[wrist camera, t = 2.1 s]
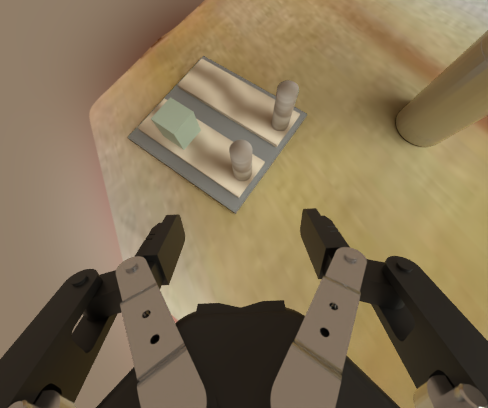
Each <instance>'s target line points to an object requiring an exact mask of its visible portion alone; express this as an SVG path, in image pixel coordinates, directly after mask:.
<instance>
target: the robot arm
mask: <svg viewBox="0 0 488 408" xmlns="http://www.w3.org/2000/svg"><path fill="white" fill-rule="evenodd" d="M486 116H488V30H487V31H486V32H485V33H484V34H483V35H482V36H481V37H480V38H479V39H478V40H477V41H476V42H475V43H473V44H472V45H471V46H470V47H469V48H468V49H467V50H466V51H465V52H464V53H463V54H462V55H460V56H459V57H458V58H457V59H456V60H455V61H454V62H453V63H452V64H451V65H450V66H448V67H447V68H446V69H445V70H444V71H443V72H442V73H441V74H440V75H439V76H438V77H437V78H435V79H434V80H433V81H432V82H431V83H430V84H429V85H428V86H427V87H426V88H425V89H424V90H422V91H421V92H420V93H419V94H418V95H417V96H416V97H415V98H414V99H413V100H412V101H410V102H409V103H408V104H407V105H406V106H405V107H404V108H403V109H402V110H401V111H400V112H399V113H398V115H397V118H396V126H397V129H398V131H399V133H400V134H401V136H402V137H403V138H404V139H405V140H407V141H408V142H410V143H412V144H414V145H417V146H423V147H428V146H433V145H436V144H438V143H440V142H441V141H443V140H445V139H447V138H449V137H450V136H452V135H454V134H456V133H457V132H459V131H461V130H463V129H465V128H467V127H468V126H470V125H472V124H474V123H475V122H477V121H479V120H481V119H483V118H484V117H486ZM300 233H301V238H302V240H303V242H304V245H305V247H306V250H307V252H308V255H309V257H310V260H311V262H312V264H313V267H314V269H315V272H316V274H317V277H318V279H322V280H321V282H320V285H319V287H318V289H317V291H316V293H315V296H314V298H313V300H312V302H311V305H310V307H309V309H308V311H307V313H306V316H304V315H302V314H301V313H299V312H297V311H295V310H292V309H289V308H286V307H285V304H284V300H280V301H262V302H259V303H255V304H252V305H249V306H245V307H242V308H239V307H234V306H230V305H225V304H221V303H209V304H198V306H197V311H196V312H193V313H191V314H188V315H187V316H185V317H183V318H182V319H180V320H179V321H178V322H176V323H175V322H174V320H173V318H172V316H171V313H170V311H169V309H168V307H167V305H166V303H165V300H164V298H163V296H162V294H161V292H160V288H161V285H169V283H170V281H171V278H172V275H173V272H174V269H175V267H176V264H177V261H178V258H179V256H180V253H181V250H182V247H183V245H184V242H185V233H184V229H183V225H182V221H181V217H180V215H166V217H165V218H164V220H163V222H162V223H158V224H157V225H156V226H154V227H153V228H152V230H151V231H150V233H149V235H148V236H147V237H146V240H145V241H144V242H143V244H142V245H141V247H140V249H139V250H138V252H137V253H136V255H135V257H132V258H129V259H127V260H125V261H124V262H122V263H121V264H120V265H119V266H118V268H117V269H116V270H115V271H112V272H108V273H105V274H101V275H99V274H98V272H97V271H96V270H94V269H86V270H83V271H80V272H78V273H76V274H74V275H73V276H71V277H70V278H69V279H68V280H66V282H65V283H64V284H63V285H62V286H61V287H60V289H59V290H58V291H57V292H56V293H55V295H54V296H53V297H52V298H51V299H50V301H49V302H48V303H47V304H46V305H45V307H44V308H43V309H42V310H41V311H40V313H39V314H38V315H37V316H36V317H35V319H34V320H33V321H32V322H31V323H30V325H29V326H28V327H27V328H26V329H25V331H24V332H23V333H22V334H21V335H20V337H19V338H18V339H17V340H16V341H15V342H14V344H13V345H12V346H11V347H10V348H9V350H8V351H7V352H6V353H5V354H4V356H3V357H2V358H1V359H0V408H76V406H75V404H74V402H75V400H76V398H77V396H78V394H79V392H80V390H81V388H82V386H83V383H84V381H85V379H86V377H87V375H88V373H89V371H90V369H91V367H92V365H93V363H94V361H95V359H96V357H97V355H98V353H99V350H100V348H101V346H102V344H103V342H104V340H105V338H106V336H107V334H108V332H109V330H110V328H111V326H112V324H113V322H114V320H115V318H116V316H117V314H118V313H121V312H122V316H123V320H124V324H125V329H126V333H127V337H128V341H129V346H130V350H131V354H132V359H133V363H134V368H133V369H132V370H131V371H130V372H129V373H128V374H127V375H126V376H125V377H124V378H123V379H122V380H121V381H120V382H119V384H118V385H117V386H116V387H115V388H114V389H113V390H112V391H111V392H110V393H109V394H108V395H107V396H106V397H105V398H104V400H103V401H102V402H101V403H100V404H99V405H98V406H97V407H96V408H400V407H399V406H398V405H397V404H396V403H395V402H394V401H393V400H392V399H391V398H390V397H389V396H388V395H387V394H386V393H385V392H384V391H383V390H382V389H381V388H379V387H378V386H377V385H376V384H375V383H374V382H373V381H372V380H371V379H370V378H369V377H368V376H367V375H366V374H365V373H364V372H363V371H362V370H361V369H360V368H359V367H358V366H357V365H356V364H355V363H354V362H353V361H352V360H351V359H350V358H349V357H348V356H346V354H347V350H348V346H349V342H350V337H351V333H352V329H353V325H354V321H355V316H356V312H357V308H358V304H359V301H362V302H366V303H370V304H371V305H372V306H373V308H374V310H375V312H376V314H377V316H378V317H379V319H380V321H381V323H382V325H383V327H384V329H385V330H386V332H387V334H388V336H389V338H390V340H391V342H392V343H393V345H394V347H395V349H396V351H397V353H398V354H399V356H400V358H401V360H402V362H403V364H404V366H405V367H406V369H407V371H408V373H409V375H410V377H411V379H412V380H413V382H414V384H415V386H416V388H417V389H416V391H415V392H414V397H413V400H414V405H415V408H488V341H487V340H486V339H485V338H484V337H483V336H482V335H481V333H480V332H479V331H478V330H477V329H476V328H475V327H474V326H473V325H472V324H471V323H470V321H469V320H468V319H467V318H466V317H465V316H464V315H463V314H462V313H461V312H460V311H459V310H458V308H457V307H456V306H455V305H454V304H453V303H452V302H451V301H450V300H449V299H448V298H447V296H446V295H445V294H444V293H443V292H442V291H441V290H440V289H439V288H438V287H437V286H436V285H435V283H434V282H433V281H432V280H431V279H430V278H429V277H428V276H427V275H426V274H425V273H424V271H423V270H422V269H421V268H420V267H419V266H418V265H417V264H415V263H414V262H412V261H410V260H408V259H406V258H403V257H399V256H391V257H388V258H387V259H386V261H385V263H384V262H378V261H373V260H368V259H366V258H365V256H364V255H363V254H362V253H361V252H359V251H358V250H356V249H353V248H350V247H349V245H348V244H347V242H346V241H345V240H344V238H343V237H342V235H341V234H340V232H338V229H337V228H336V227H335V225H334V224H333V222H332V221H331V220H330V219H329V218H327V217H326V216H321V215H320V214H319V212H318V211H317V209H316V208H314V209H303V212H302V220H301V227H300ZM82 314H83V315H84V316H83V317H82V319H81V320H80V322H79V324H78V325H77V327H76V328H75V330H74V332H73V333H72V330H73V328H74V326H75V324H76V323H77V322H78V320H79V319H80V317H81V315H82Z"/></svg>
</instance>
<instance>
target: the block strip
mask: <svg viewBox="0 0 488 408" xmlns="http://www.w3.org/2000/svg"><path fill="white" fill-rule="evenodd" d="M166 101H167V100H166V99H165V98H164V99H163V100H162V102H161V103H160V104H159V105H158V106H157V107H156V108H155V109H154V110H153V111H152V112H151V113H150V114H149V116H148V117H147V118H146V119H145V120H144V121H143V122H142V123H141V124H140V125H139V126H138V127H137V128H138V129H139V130H140V131H141V132H143V133H144V134H146V135H147V136H149V137H150V138H152V139H153V140H155V141H156V142H158V143H159V144H161V145H162V146H163V147H165V148H166V149H168V150H169V151H171V152H172V153H174V154H175V155H177V156H178V157H180V158H181V159H182V160H184V161H185V162H187V163H188V164H190V165H191V166H193V167H194V168H196V169H197V170H199V171H200V172H201V173H203V174H204V175H206V176H207V177H209V178H210V179H212V180H213V181H215V182H216V183H218V184H219V185H220V186H222V187H223V188H225V189H226V190H228V191H229V192H231V193H232V194H234V195H235V196H237V197H238V198H239V197H240V196H241V195H242V193H243V192H244V191H245V189H246V188H247V187H248V185H249V184H250V183H251V181H252V180H253V178H254V177H255V176H256V174H257V173H258V172H259V170H260V169H261V168H262V166H263V165H264V164H265V161H263V160H261V159H260V158H258V157H257V156H255V155H253V154H252V150H253V149H252V146H251V144H250V143H249V142H248V141H246V140H236V141H234V142H233V141H231V140H230V139H228V138H226V137H225V136H223V135H222V134H220V133H219V132H217V131H215V130H214V129H212V128H211V127H209V126H207V125H206V124H204V123H203V122H201V121H200V120H198V119H197V122H198V124H199V127H200V129H201V131H200V132H199V133H198V134H197V135H196V137H195V138H194V139H193V140H192V141H191V143H190V144H189V145H188V146H187V147H186V148H185V150H183V149H182V148H180V147H179V146H177V145H176V144H174V143H173V142H172V141H170V140H169V139H167V138H166V137H164V136H163V135H162V133H161V132H160V131H159V129H158V128H157V127H156V125H155V124H154V123H153V121H152V120H151V118H152V117H153V116H154V114H155V113H156V112H157V111H158V110H159V109H160V108H161V107H162V106H163V105H164V104H165V103H166Z"/></svg>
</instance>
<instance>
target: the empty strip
mask: <svg viewBox="0 0 488 408" xmlns="http://www.w3.org/2000/svg"><path fill="white" fill-rule="evenodd" d="M177 85H178V87H179V88H180V89H182V90H183V91H185V92H186V93H188V94H190V95H191V96H193V97H195V98H196V99H198V100H200V101H201V102H203V103H204V104H206V105H208V106H209V107H211V108H213V109H214V110H216V111H218V112H219V113H221V114H223V115H224V116H226V117H227V118H229V119H231V120H232V121H234V122H236V123H237V124H239V125H241V126H242V127H244V128H246V129H247V130H249V131H250V132H252V133H254V134H255V135H257V136H259V137H260V138H262V139H264V140H265V141H267V142H268V143H270V144H272V145H273V146H275V147H277V146H278V145H279V143H280V142H281V141H282V139H283V138H284V137H285V135H286V134H287V132H288V131H289V130H290V128H291V127H292V126H293V124H294V123H295V122H296V120H297V119H298V118H299V116H300V113H298V112H296V111H294V110H293V109H294V106H295V102H296V99H297V96H298V93H299V87H298V85H297V84H296V83H295V82H293V81H289V80H286V81H283V82H281V83H280V84H279V85H278V87H277V93H276V99H273V98H271V97H269V96H268V95H266V94H264V93H262V92H261V91H259V90H257V89H255V88H253V87H252V86H250V85H248V84H246V83H245V82H243V81H241V80H239V79H238V78H236V77H234V76H232V75H230V74H229V73H227V72H225V71H223V70H222V69H220V68H218V67H216V66H214V65H213V64H211V63H209V62H207V61H206V60H204V59H201V60H200V61H199V62H198V63H197V64H196V65H195V66H194V67H193V68H192V69H191V70H190V71H189V73H188V74H187V75H186V76H185V77H184V78H183V79H182V80H181V81H180V82H179V83H178V84H177Z"/></svg>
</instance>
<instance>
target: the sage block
mask: <svg viewBox="0 0 488 408" xmlns="http://www.w3.org/2000/svg"><path fill="white" fill-rule="evenodd" d="M151 120H152V121H153V123H154V124H155V125H156V127H157V128H158V129H159V131H160V132H161V133H162V135H163V136H164V137H166V138H167V139H169V140H170V141H172V142H173V143H174V144H176V145H177V146H179V147H180V148H182V149H183V150H185V148H186V147H187V146H188V145H189V144H190V143H191V141H192V140H193V139H194V138H195V137H196V135H197V134H198V133H199V132H200V131H201V129H200V127H199V124H198V122H197V119H196V117H195V114H194V112H193V111H192V110H190V109H188V108H187V107H185V106H184V105H182V104H180V103H179V102H177V101H176V100H174V99H172V98H171V97H170V98H169V99H168V100H167V101H166V103H165V104H164V105H163V106H162V107H161V108H160V109H159V110H158V111H157V112H156V113H155V114H154V116H153V117H152V118H151Z"/></svg>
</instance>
